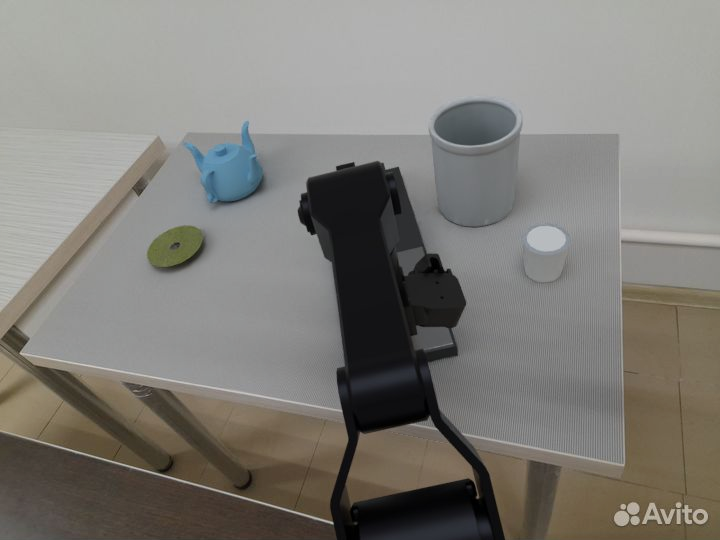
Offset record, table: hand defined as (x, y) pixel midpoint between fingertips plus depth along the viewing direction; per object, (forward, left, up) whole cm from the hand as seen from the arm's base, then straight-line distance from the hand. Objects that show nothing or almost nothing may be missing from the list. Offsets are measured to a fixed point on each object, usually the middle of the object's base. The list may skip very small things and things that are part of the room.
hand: (394, 367), depth 61 cm
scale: (+30, -1, -13) cm, 33 cm away
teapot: (+63, +25, -13) cm, 69 cm away
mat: (+45, +37, -13) cm, 60 cm away
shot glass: (+20, -26, -13) cm, 35 cm away
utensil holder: (+39, -21, -13) cm, 46 cm away
